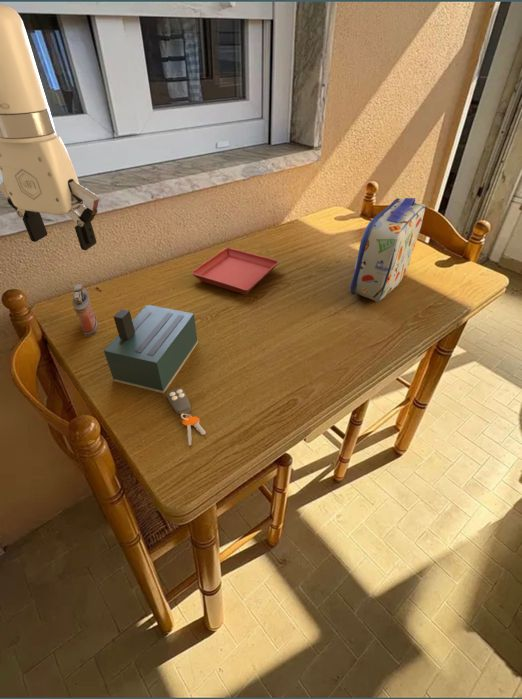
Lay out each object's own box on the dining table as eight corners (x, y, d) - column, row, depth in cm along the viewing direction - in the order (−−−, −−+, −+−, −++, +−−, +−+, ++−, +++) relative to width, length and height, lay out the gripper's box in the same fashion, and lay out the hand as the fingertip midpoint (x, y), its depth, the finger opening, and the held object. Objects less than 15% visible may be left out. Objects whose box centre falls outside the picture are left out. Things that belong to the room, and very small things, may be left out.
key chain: (164, 396, 73) (163, 391, 72) (182, 389, 74) (182, 384, 73) (189, 447, 64) (188, 441, 63) (209, 438, 66) (209, 433, 65)
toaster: (113, 381, 76) (102, 350, 70) (153, 333, 87) (146, 303, 82) (163, 393, 73) (156, 362, 68) (198, 342, 85) (194, 312, 80)
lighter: (83, 317, 92) (69, 281, 85) (97, 315, 92) (86, 278, 86) (81, 337, 86) (67, 300, 79) (97, 334, 87) (84, 297, 80)
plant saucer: (191, 282, 104) (189, 271, 102) (227, 256, 116) (226, 246, 114) (247, 301, 98) (247, 290, 96) (279, 271, 110) (280, 260, 108)
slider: (119, 338, 73) (113, 316, 69) (127, 330, 75) (121, 308, 71) (128, 340, 72) (122, 318, 69) (135, 332, 74) (129, 310, 71)
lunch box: (377, 259, 116) (394, 184, 102) (411, 268, 112) (434, 191, 98) (343, 301, 98) (358, 217, 84) (382, 313, 94) (405, 228, 80)
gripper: (-50, 125, 51) (4, 244, 62) (58, 136, 48) (95, 260, 59) (-6, 116, 57) (37, 227, 68) (95, 124, 53) (122, 240, 64)
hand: (64, 242), depth 63 cm, fingers open, 9 cm apart
